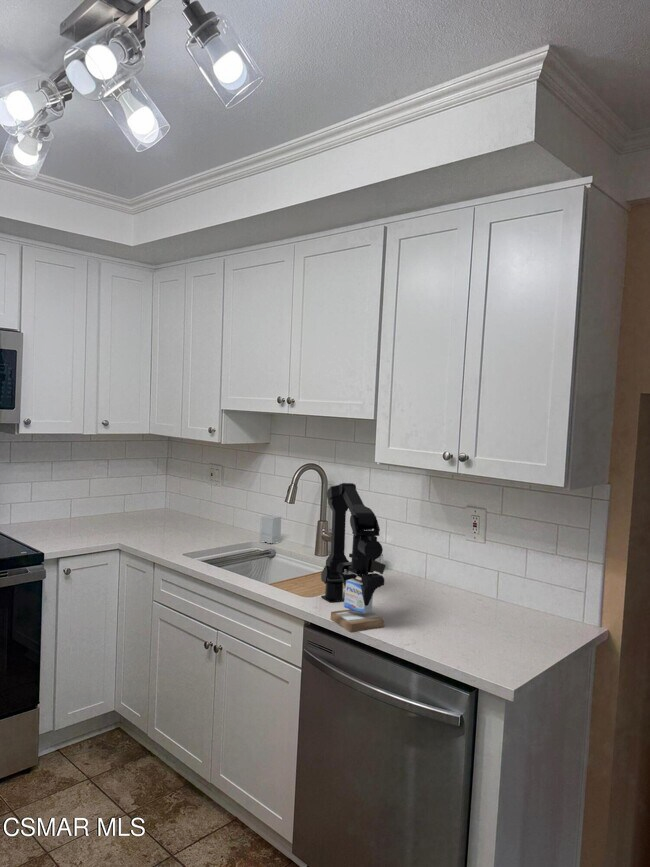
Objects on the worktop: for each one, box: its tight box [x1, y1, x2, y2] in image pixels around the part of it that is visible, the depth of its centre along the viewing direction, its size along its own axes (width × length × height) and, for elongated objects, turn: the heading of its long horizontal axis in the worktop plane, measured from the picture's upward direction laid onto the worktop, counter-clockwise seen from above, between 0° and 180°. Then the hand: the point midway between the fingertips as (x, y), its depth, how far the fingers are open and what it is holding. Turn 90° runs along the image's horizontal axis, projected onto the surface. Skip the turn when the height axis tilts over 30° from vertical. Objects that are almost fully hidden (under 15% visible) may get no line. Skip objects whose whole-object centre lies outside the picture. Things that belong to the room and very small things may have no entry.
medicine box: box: [343, 578, 374, 613], centre depth 197 cm, size 8×4×9 cm, turn 51°
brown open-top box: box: [330, 609, 385, 633], centre depth 197 cm, size 12×12×3 cm
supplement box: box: [259, 514, 282, 544], centre depth 307 cm, size 7×7×13 cm
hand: (358, 601), depth 197 cm, fingers closed on medicine box, 9 cm apart
